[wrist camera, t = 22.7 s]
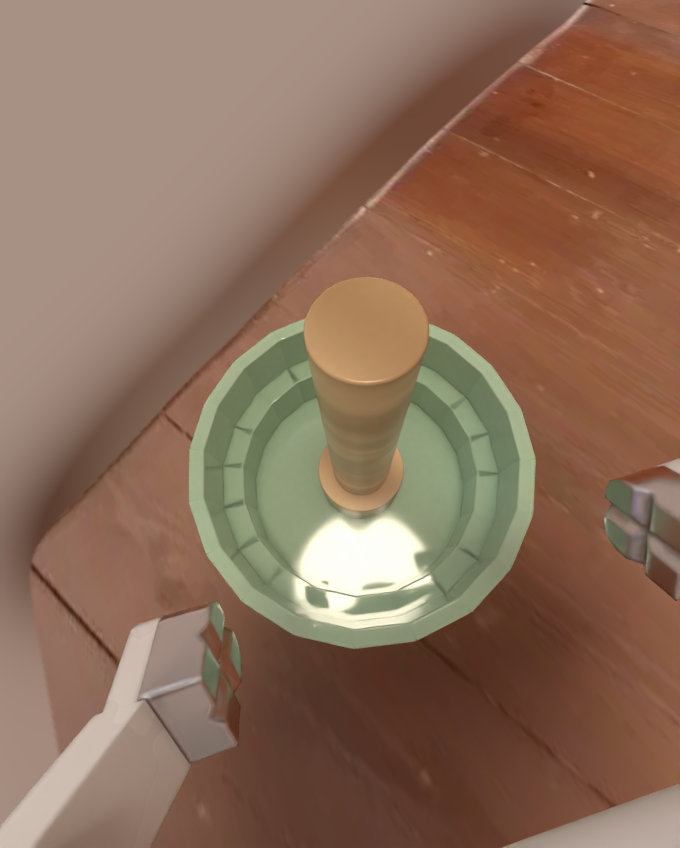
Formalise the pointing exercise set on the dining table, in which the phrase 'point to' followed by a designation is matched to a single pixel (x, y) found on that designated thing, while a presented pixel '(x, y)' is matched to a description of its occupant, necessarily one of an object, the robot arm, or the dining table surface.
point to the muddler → (364, 387)
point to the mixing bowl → (372, 537)
